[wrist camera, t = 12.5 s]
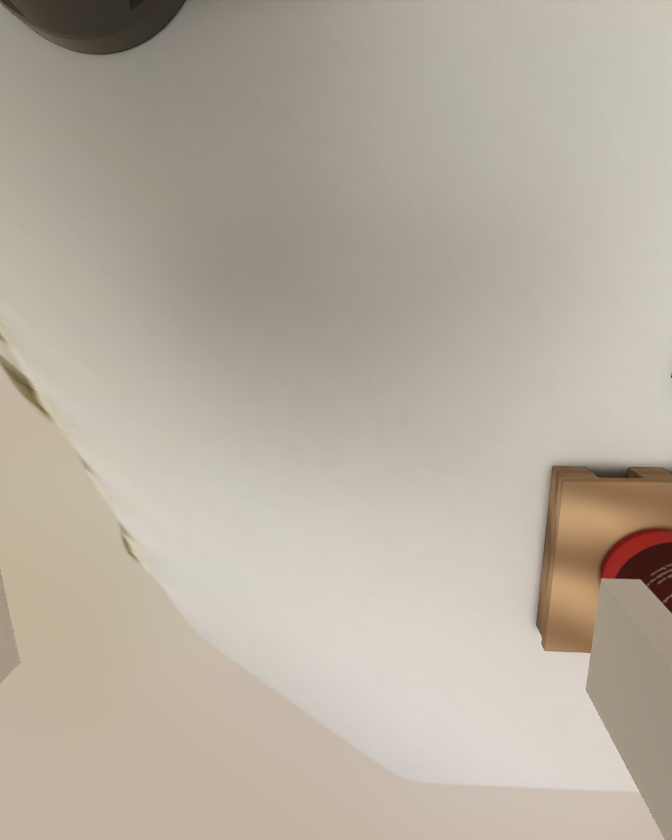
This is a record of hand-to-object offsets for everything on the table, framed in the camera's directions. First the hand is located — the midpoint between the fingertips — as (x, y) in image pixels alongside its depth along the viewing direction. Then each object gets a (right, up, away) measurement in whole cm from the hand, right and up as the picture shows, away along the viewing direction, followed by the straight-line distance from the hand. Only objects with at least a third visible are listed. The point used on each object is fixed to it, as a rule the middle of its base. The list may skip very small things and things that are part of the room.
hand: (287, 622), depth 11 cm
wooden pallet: (+24, -6, +27) cm, 37 cm away
